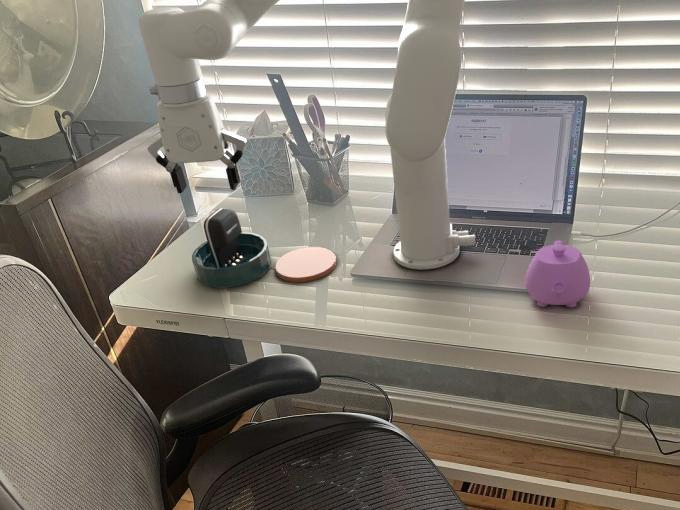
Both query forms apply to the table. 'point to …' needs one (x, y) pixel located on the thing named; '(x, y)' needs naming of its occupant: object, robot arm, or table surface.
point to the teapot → (558, 276)
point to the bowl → (238, 274)
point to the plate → (305, 264)
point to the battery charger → (224, 238)
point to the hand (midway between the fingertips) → (208, 188)
